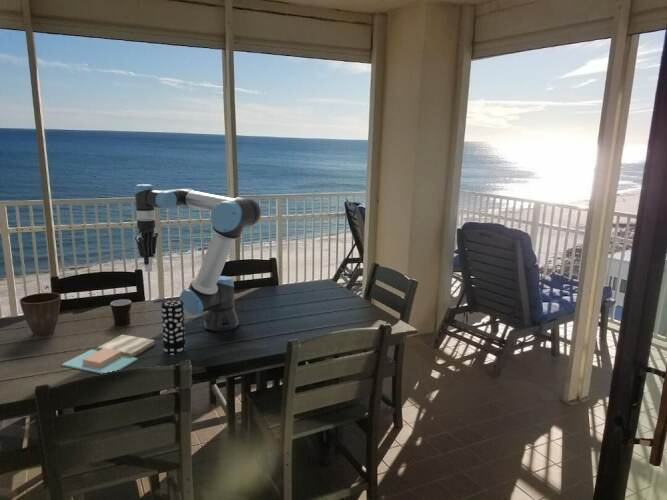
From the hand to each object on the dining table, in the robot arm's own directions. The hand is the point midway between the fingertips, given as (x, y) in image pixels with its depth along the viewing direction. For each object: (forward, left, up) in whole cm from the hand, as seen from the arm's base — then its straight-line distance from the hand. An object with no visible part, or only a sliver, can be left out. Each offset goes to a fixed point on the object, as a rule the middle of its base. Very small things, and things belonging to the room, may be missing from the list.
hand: (148, 271), depth 217 cm
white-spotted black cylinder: (-29, +23, -25) cm, 44 cm away
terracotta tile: (-10, +41, -24) cm, 48 cm away
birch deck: (-10, +28, -24) cm, 38 cm away
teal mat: (-10, +42, -24) cm, 50 cm away
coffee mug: (+11, +5, -25) cm, 27 cm away
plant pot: (+33, +28, -25) cm, 50 cm away
